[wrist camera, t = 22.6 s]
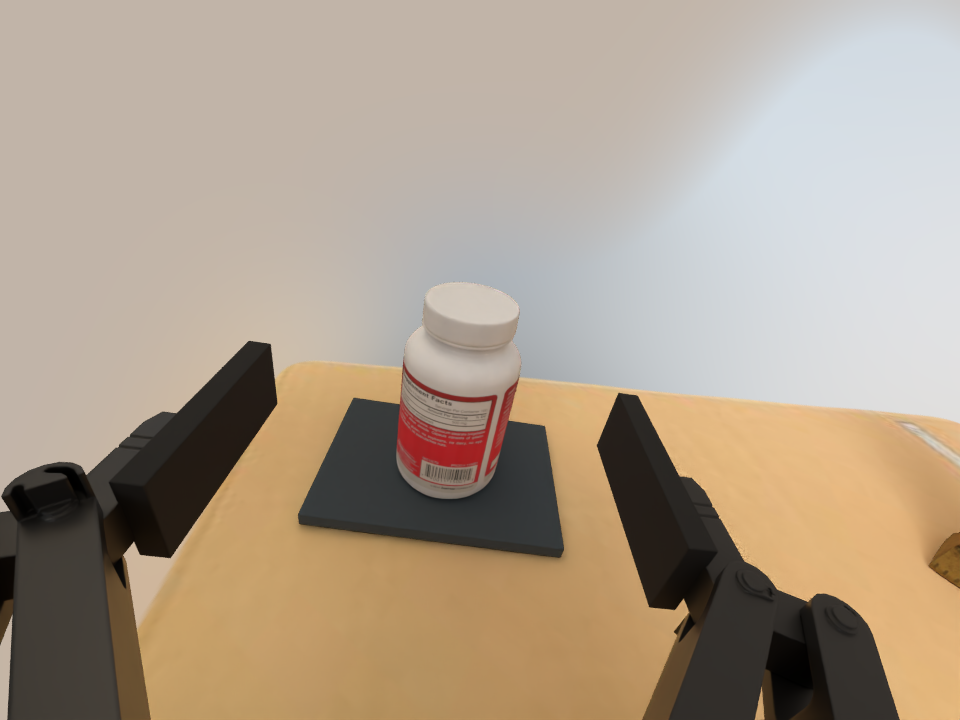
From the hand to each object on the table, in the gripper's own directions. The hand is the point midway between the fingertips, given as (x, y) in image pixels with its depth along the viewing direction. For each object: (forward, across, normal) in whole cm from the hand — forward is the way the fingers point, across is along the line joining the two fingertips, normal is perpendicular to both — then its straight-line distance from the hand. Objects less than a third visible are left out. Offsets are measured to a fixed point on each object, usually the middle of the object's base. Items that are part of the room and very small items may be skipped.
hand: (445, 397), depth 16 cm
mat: (+6, 0, -10) cm, 12 cm away
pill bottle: (+6, +1, -10) cm, 11 cm away
